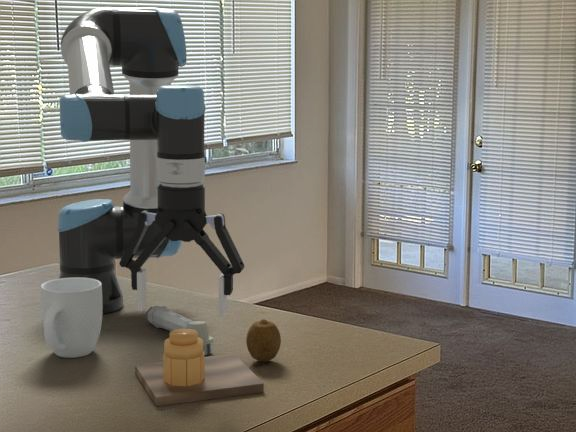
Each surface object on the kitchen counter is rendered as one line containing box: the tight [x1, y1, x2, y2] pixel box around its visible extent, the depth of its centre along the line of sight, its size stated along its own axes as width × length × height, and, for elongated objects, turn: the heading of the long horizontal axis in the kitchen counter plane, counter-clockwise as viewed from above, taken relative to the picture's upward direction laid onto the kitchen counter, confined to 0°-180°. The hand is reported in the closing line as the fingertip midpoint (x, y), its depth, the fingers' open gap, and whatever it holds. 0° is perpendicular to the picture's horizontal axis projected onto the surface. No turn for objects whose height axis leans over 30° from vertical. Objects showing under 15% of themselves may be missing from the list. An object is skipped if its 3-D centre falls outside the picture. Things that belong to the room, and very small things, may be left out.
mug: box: [40, 277, 104, 359], centre depth 163 cm, size 15×11×13 cm
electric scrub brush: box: [145, 305, 214, 356], centre depth 174 cm, size 5×7×25 cm
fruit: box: [245, 318, 282, 364], centre depth 161 cm, size 6×6×8 cm
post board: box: [134, 353, 265, 407], centre depth 150 cm, size 16×18×6 cm
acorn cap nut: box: [162, 329, 205, 386], centre depth 147 cm, size 6×6×8 cm
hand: (182, 311), depth 146 cm, fingers open, 13 cm apart
